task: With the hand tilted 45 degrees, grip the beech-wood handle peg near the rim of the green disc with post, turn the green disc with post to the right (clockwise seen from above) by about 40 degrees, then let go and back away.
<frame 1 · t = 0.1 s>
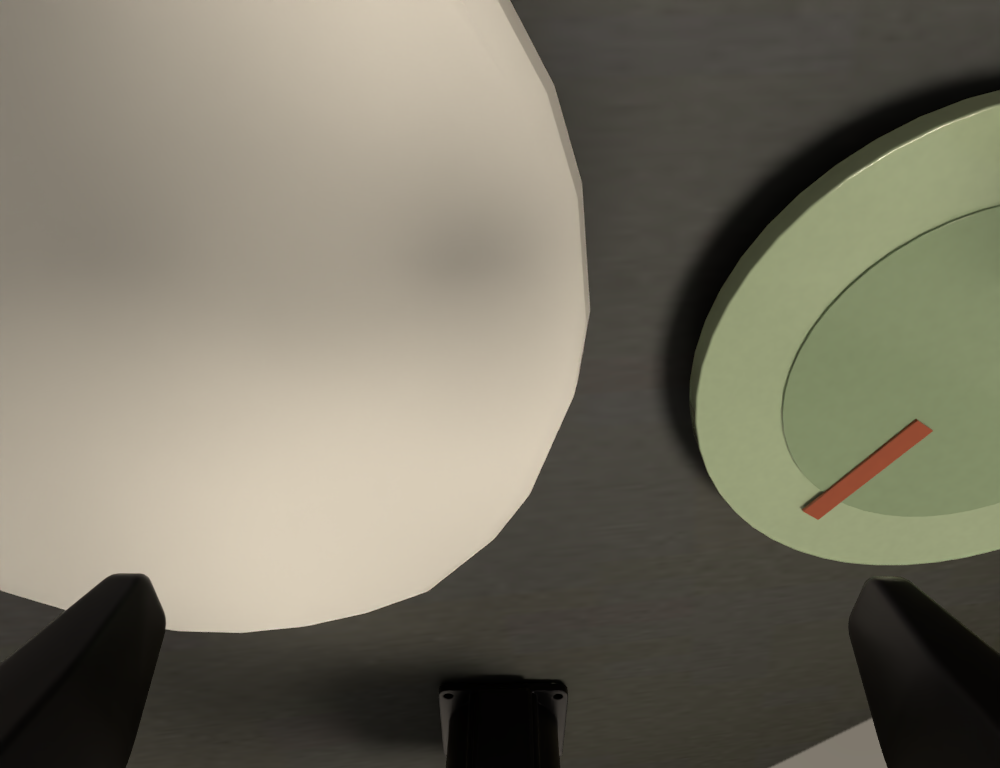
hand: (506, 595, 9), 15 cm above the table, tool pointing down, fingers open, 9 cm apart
white round disc: (163, 262, 22), on the table
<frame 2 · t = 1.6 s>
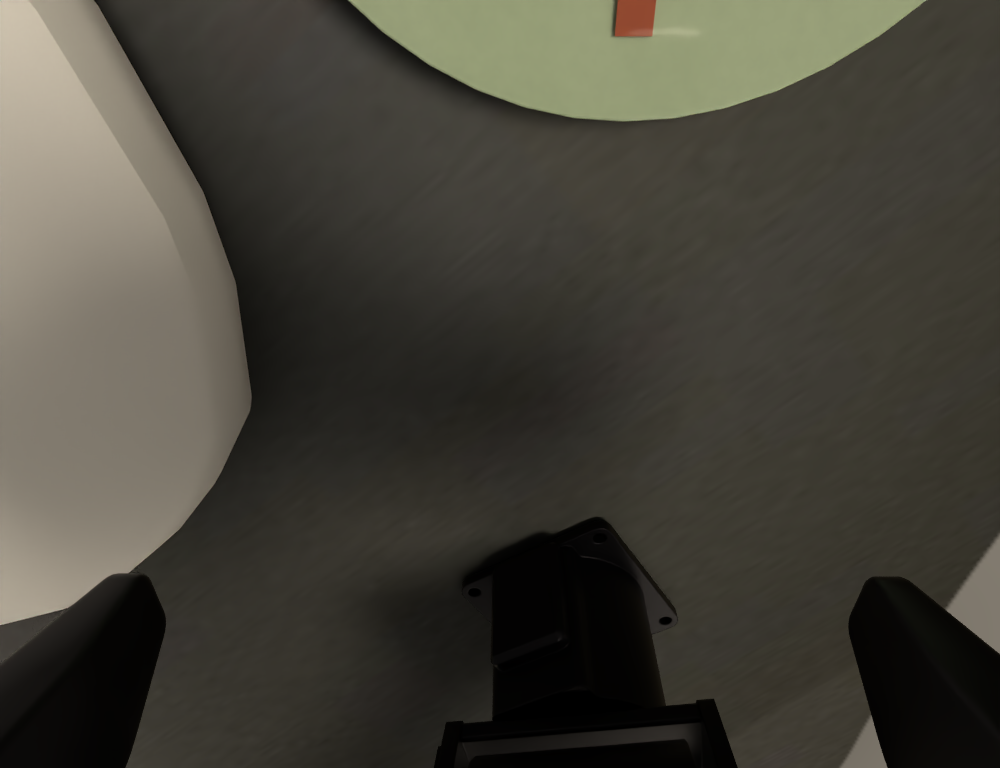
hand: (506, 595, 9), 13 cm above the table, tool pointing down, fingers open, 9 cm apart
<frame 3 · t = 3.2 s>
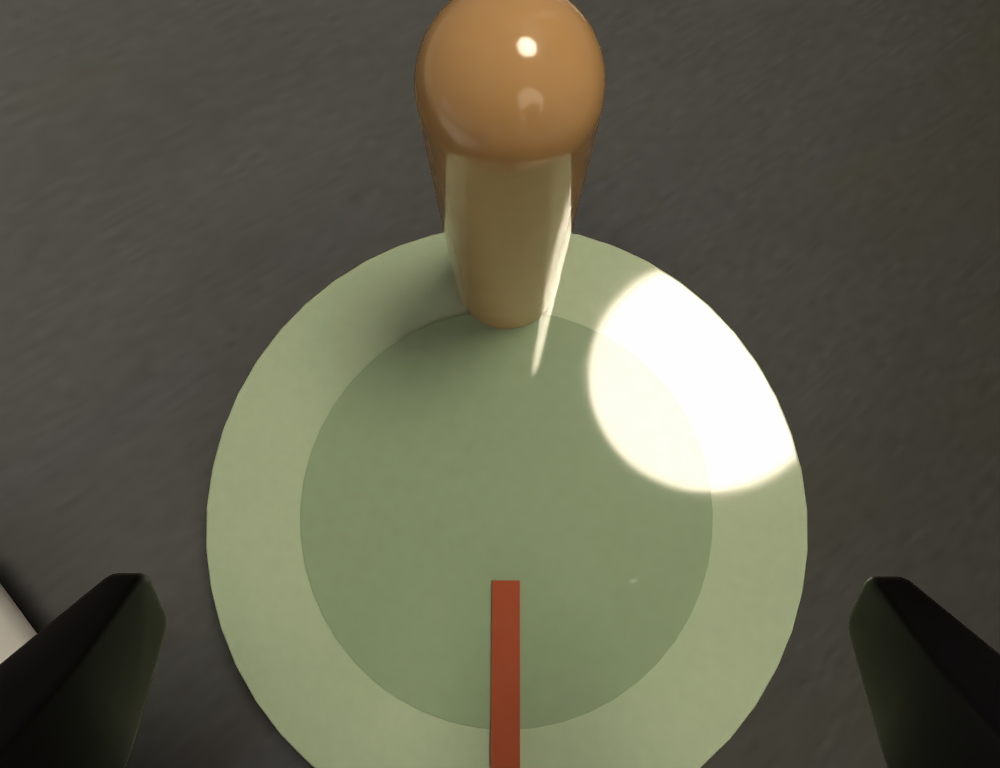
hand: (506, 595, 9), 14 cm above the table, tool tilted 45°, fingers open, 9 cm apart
green disc with post: (507, 509, 15), point 7 cm above the table, hinge at 0.0°
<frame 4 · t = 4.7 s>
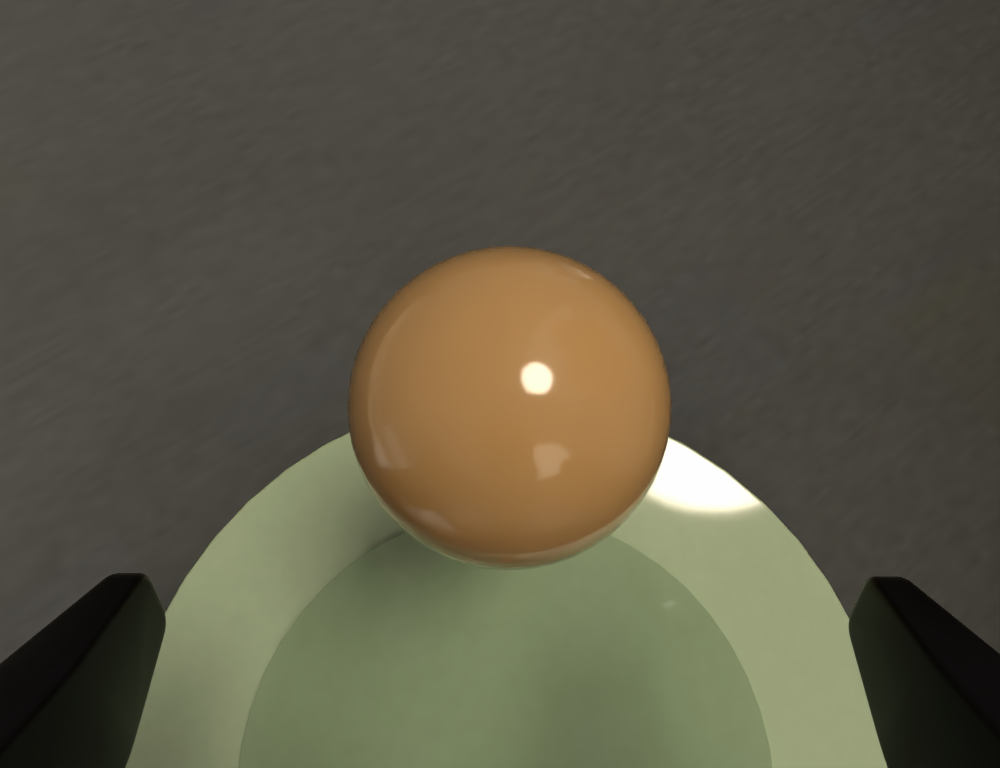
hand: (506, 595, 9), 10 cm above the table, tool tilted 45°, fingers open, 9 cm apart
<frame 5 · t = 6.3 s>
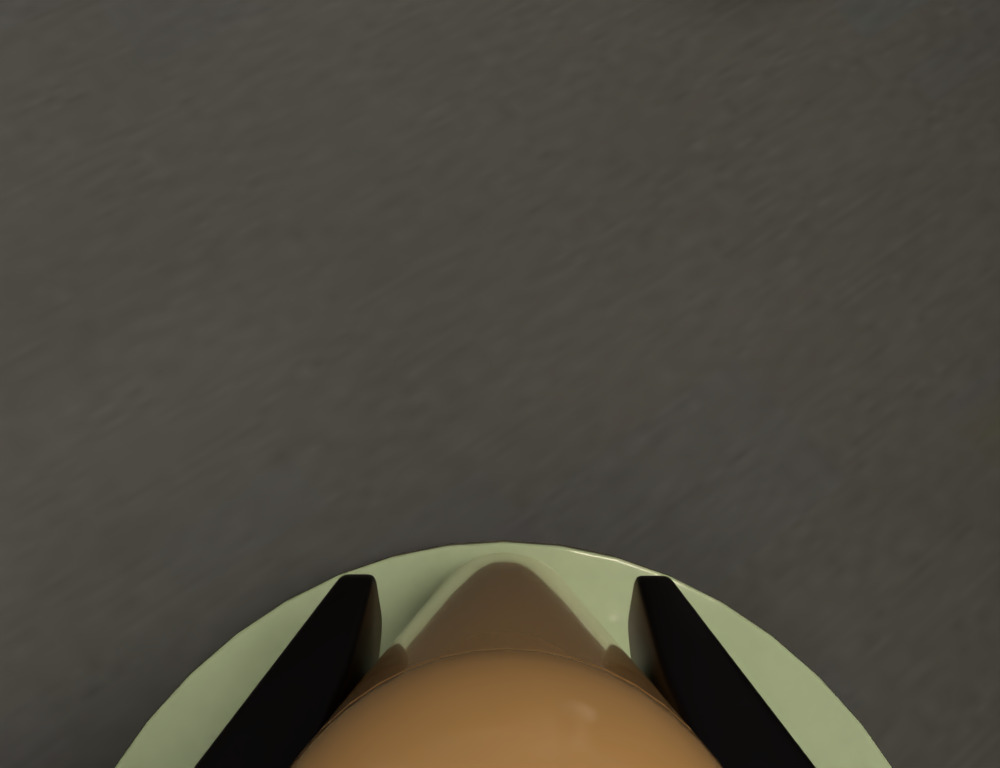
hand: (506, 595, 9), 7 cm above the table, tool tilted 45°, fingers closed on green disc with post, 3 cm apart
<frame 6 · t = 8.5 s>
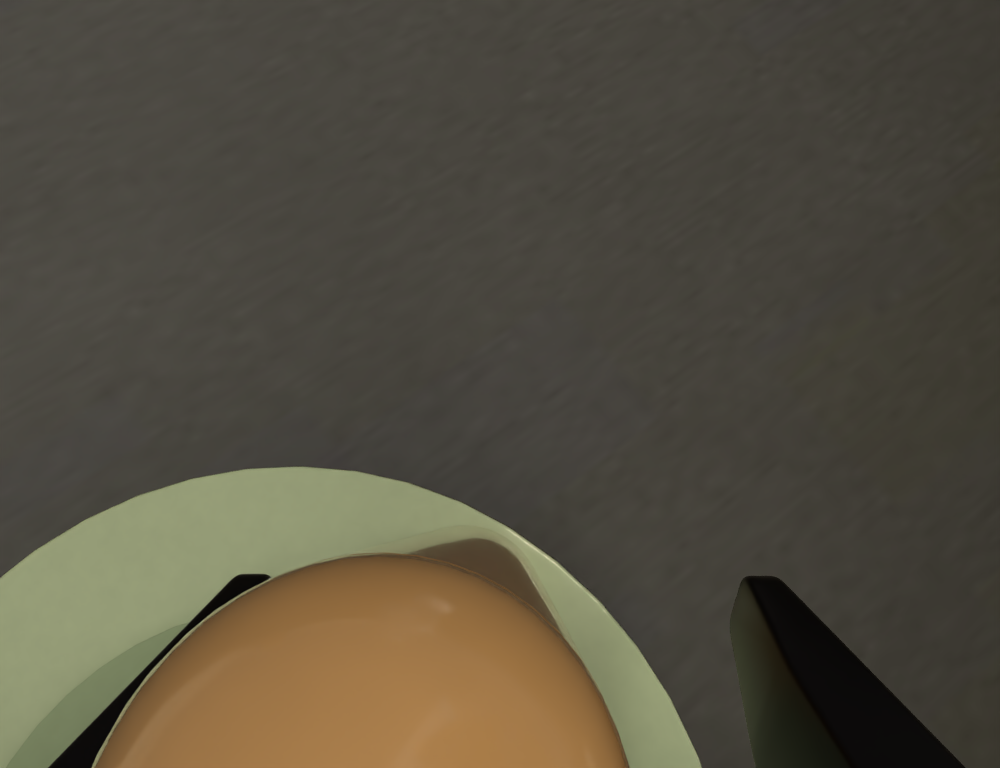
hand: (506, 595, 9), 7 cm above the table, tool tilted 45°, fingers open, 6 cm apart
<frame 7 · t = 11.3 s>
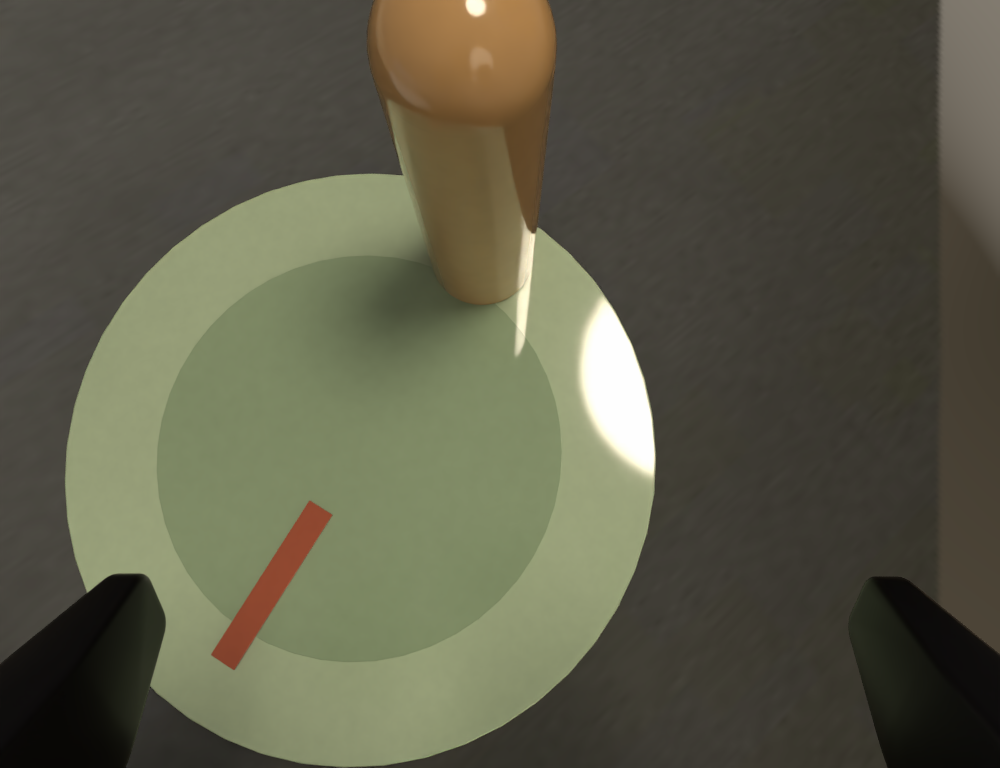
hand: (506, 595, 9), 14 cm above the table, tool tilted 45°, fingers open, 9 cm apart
green disc with post: (310, 430, 15), point 7 cm above the table, hinge at -30.8°
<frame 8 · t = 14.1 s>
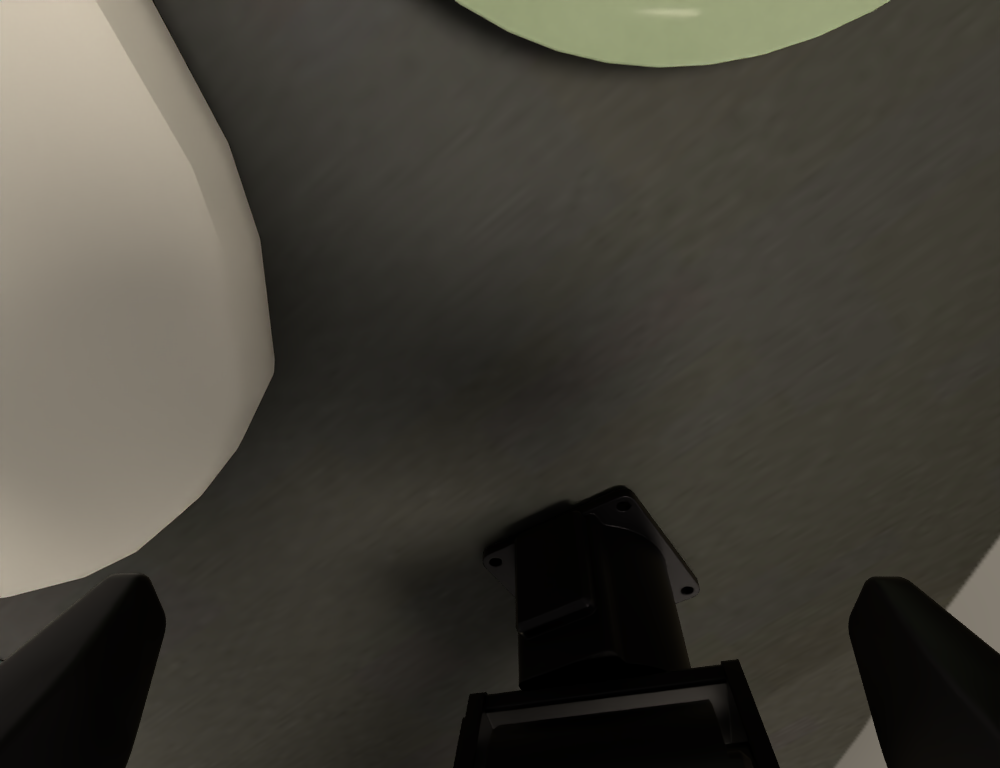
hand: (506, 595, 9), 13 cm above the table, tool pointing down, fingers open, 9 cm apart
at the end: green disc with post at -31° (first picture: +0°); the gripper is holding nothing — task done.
